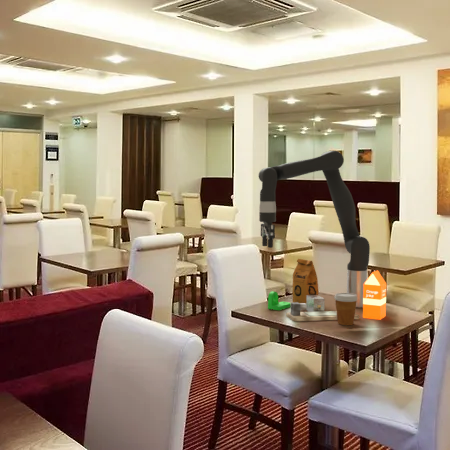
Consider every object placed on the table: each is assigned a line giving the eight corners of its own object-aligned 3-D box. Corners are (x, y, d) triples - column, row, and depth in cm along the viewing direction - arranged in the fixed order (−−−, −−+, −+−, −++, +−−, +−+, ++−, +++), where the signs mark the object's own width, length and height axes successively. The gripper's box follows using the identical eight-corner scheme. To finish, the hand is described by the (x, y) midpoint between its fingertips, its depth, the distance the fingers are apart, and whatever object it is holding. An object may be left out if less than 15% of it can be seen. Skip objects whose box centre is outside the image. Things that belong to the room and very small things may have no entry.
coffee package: (303, 308, 271) (304, 261, 270) (289, 304, 282) (290, 258, 281) (321, 306, 275) (322, 260, 274) (307, 302, 286) (307, 257, 285)
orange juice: (386, 316, 255) (387, 270, 254) (380, 319, 247) (381, 272, 246) (368, 314, 259) (369, 269, 258) (362, 317, 251) (363, 271, 250)
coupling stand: (349, 313, 259) (349, 299, 258) (359, 319, 248) (359, 304, 248) (286, 315, 253) (286, 301, 253) (293, 321, 243) (293, 305, 242)
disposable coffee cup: (329, 323, 239) (329, 294, 238) (342, 320, 246) (342, 291, 245) (348, 327, 232) (349, 297, 232) (361, 323, 239) (362, 294, 238)
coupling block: (316, 309, 269) (316, 294, 268) (324, 314, 258) (324, 298, 257) (306, 310, 268) (306, 294, 267) (313, 314, 257) (314, 299, 256)
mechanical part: (278, 310, 266) (278, 293, 265) (267, 309, 269) (268, 292, 269) (292, 307, 275) (293, 290, 275) (282, 305, 279) (282, 289, 278)
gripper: (280, 211, 260) (280, 248, 261) (270, 211, 274) (270, 245, 275) (264, 212, 258) (264, 248, 259) (255, 211, 272) (255, 245, 273)
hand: (267, 246), depth 267 cm, fingers open, 8 cm apart
